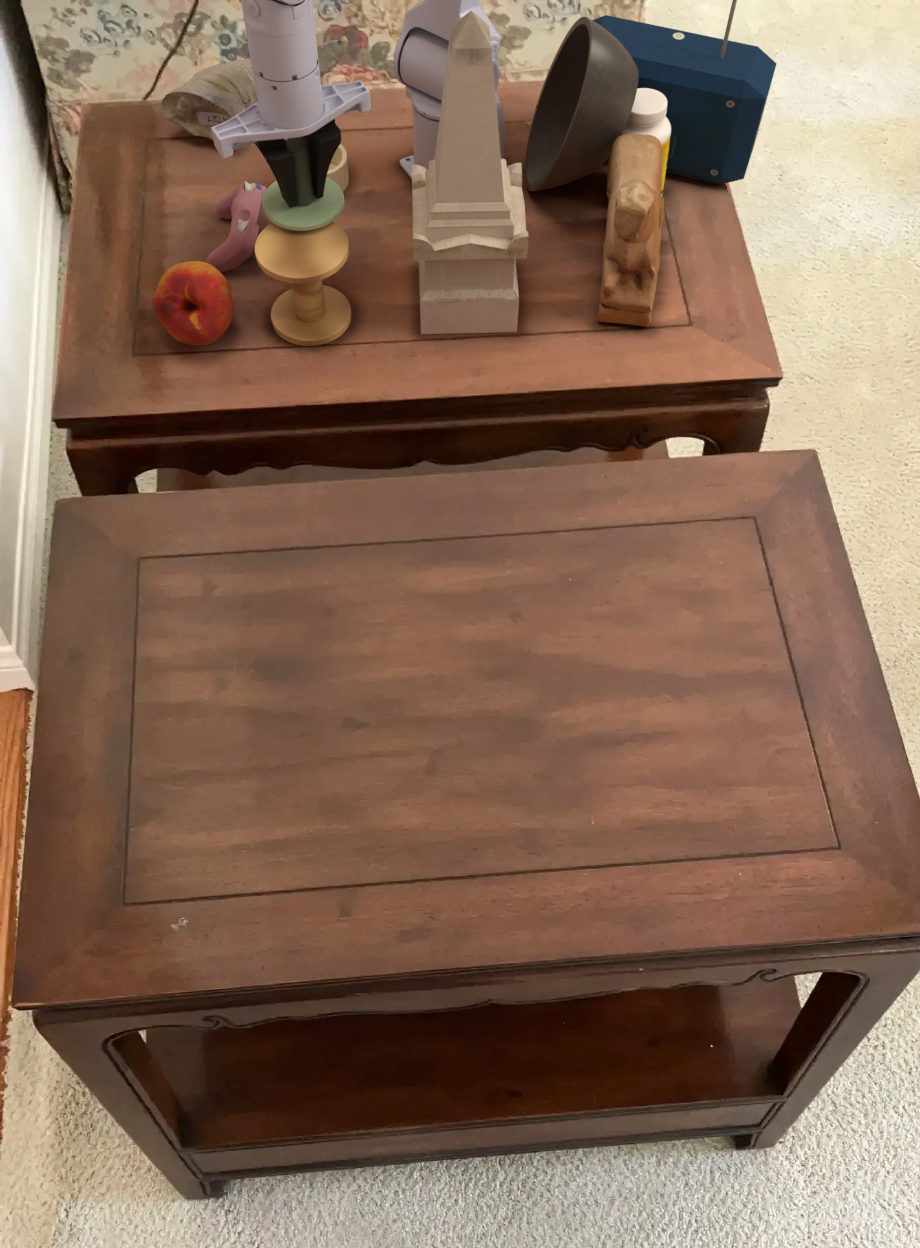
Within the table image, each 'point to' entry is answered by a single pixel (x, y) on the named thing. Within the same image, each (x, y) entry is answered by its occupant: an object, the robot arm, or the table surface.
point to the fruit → (194, 302)
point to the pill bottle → (649, 123)
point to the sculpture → (632, 231)
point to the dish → (339, 168)
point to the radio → (701, 94)
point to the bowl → (580, 107)
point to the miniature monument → (468, 201)
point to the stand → (306, 282)
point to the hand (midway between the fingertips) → (303, 196)
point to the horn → (227, 91)
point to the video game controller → (238, 226)
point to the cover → (303, 196)
